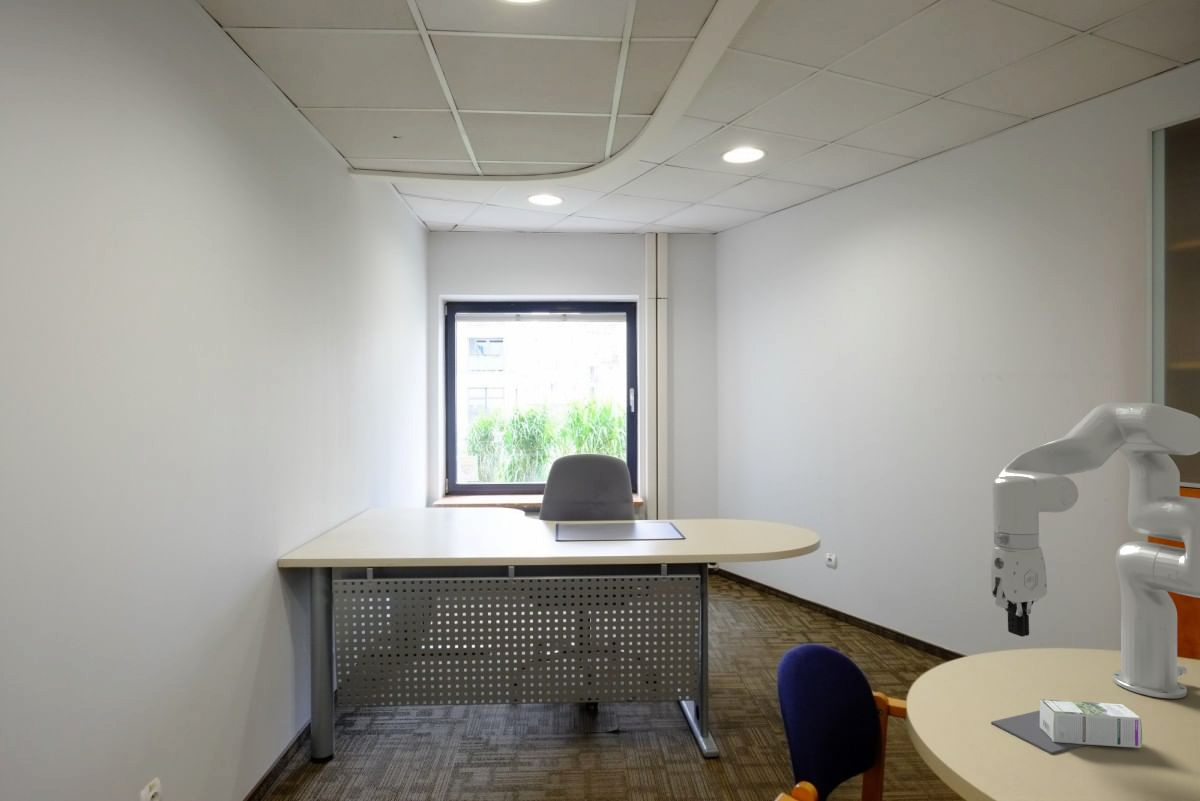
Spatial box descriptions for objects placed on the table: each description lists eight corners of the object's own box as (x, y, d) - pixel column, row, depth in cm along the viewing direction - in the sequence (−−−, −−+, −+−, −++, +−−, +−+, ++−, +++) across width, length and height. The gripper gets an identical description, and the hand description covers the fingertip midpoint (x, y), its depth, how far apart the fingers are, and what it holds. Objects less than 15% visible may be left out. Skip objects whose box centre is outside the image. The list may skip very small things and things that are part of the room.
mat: (1055, 708, 137) (1055, 706, 137) (1118, 736, 126) (1118, 734, 126) (991, 723, 131) (991, 721, 131) (1051, 754, 119) (1051, 752, 119)
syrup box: (1053, 743, 122) (1142, 750, 120) (1054, 711, 122) (1143, 717, 120) (1038, 727, 128) (1123, 734, 125) (1039, 697, 128) (1123, 703, 125)
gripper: (1006, 548, 124) (1009, 647, 124) (1061, 539, 129) (1064, 633, 130) (971, 540, 131) (973, 633, 131) (1024, 532, 136) (1027, 621, 137)
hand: (1018, 633), depth 130 cm, fingers closed
